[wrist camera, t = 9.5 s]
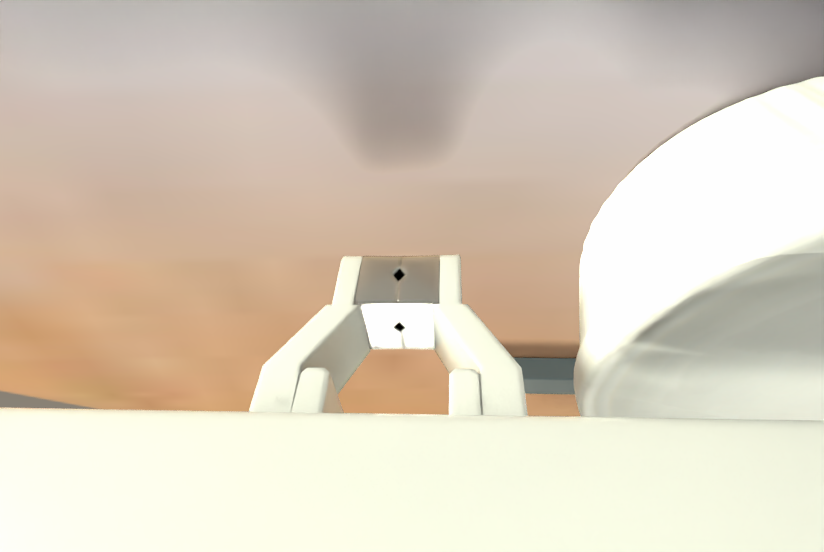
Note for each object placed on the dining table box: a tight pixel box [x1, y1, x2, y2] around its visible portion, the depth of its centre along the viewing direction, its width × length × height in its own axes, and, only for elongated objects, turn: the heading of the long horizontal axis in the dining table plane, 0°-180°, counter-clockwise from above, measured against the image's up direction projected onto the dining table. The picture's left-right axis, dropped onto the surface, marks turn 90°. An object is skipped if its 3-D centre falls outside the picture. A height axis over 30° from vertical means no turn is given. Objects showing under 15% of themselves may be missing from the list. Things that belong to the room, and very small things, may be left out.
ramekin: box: [574, 76, 824, 420], centre depth 12 cm, size 11×11×5 cm
